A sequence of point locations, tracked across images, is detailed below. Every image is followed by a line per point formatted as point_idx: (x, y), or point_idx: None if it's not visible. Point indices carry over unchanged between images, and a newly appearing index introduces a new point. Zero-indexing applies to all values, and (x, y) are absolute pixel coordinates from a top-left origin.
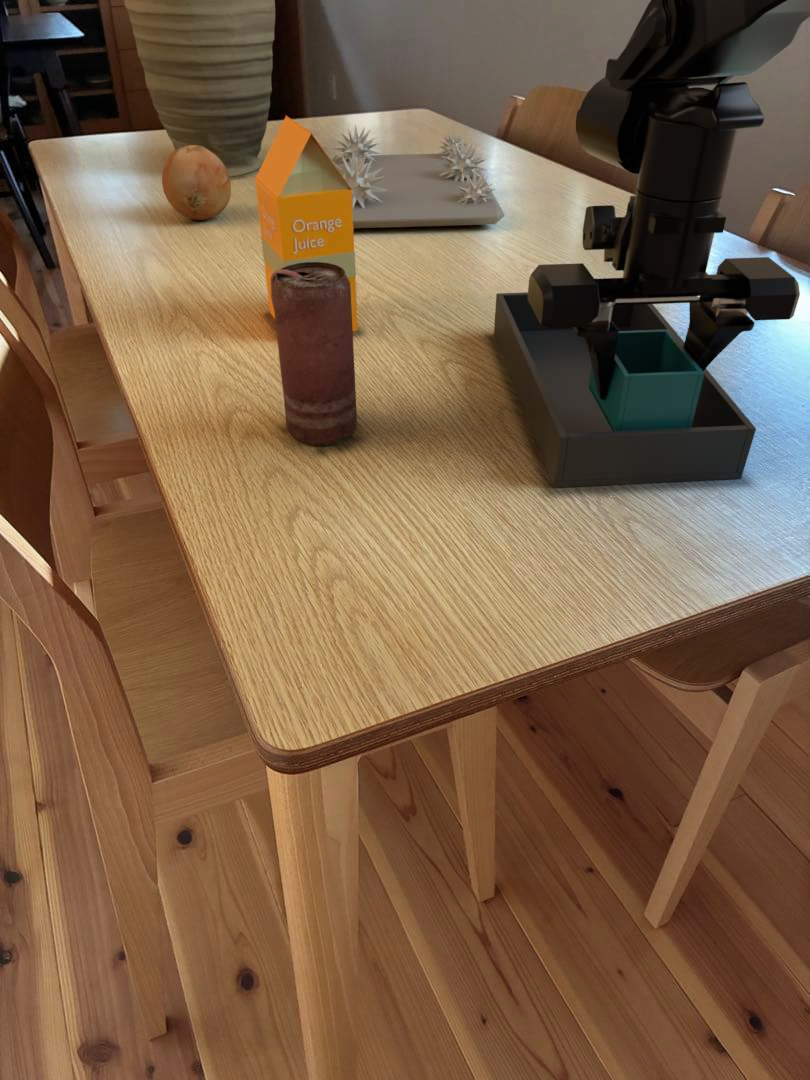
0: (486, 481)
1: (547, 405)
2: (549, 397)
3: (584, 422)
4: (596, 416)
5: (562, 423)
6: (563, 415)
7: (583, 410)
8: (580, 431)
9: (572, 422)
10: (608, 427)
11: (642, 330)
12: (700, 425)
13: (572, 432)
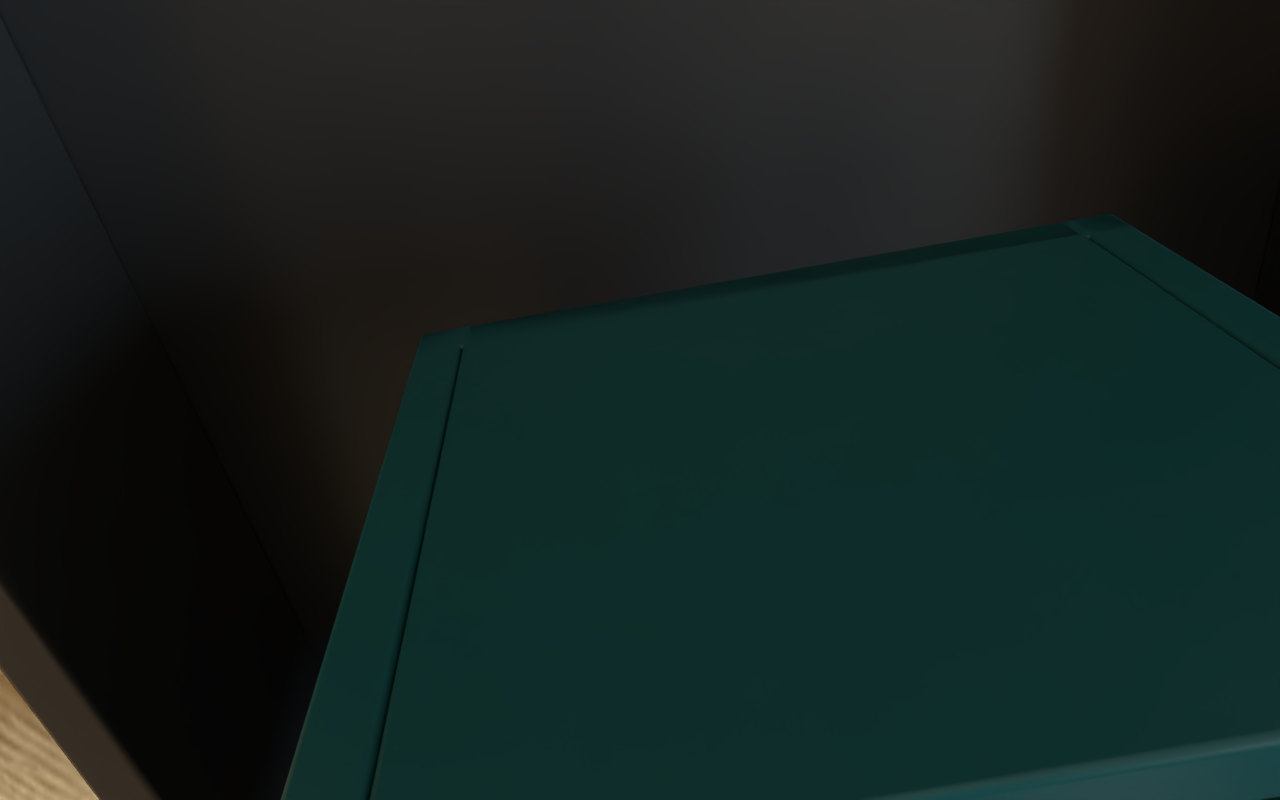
0: (15, 729)
1: (96, 788)
2: (78, 691)
3: (466, 223)
4: (560, 125)
5: (306, 251)
6: (299, 130)
7: (457, 27)
8: None
9: (378, 232)
10: (633, 275)
11: (1232, 759)
12: (1268, 195)
13: (386, 366)
